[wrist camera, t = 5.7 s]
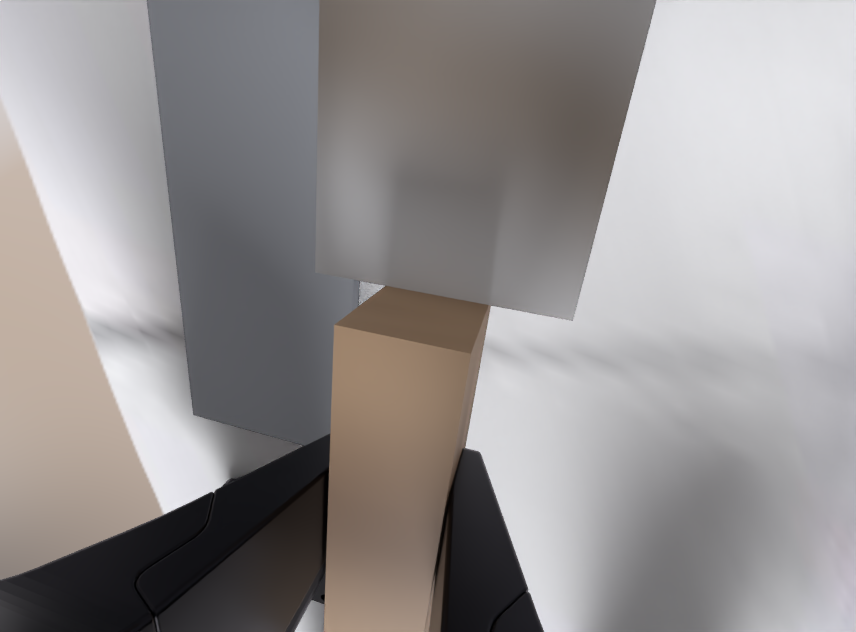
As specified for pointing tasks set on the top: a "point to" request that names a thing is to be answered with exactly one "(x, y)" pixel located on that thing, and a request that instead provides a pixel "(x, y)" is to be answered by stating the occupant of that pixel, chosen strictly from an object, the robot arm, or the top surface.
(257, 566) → the robot arm
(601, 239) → the top surface
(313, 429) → the mat
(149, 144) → the top surface
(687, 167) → the top surface
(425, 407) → the turner
